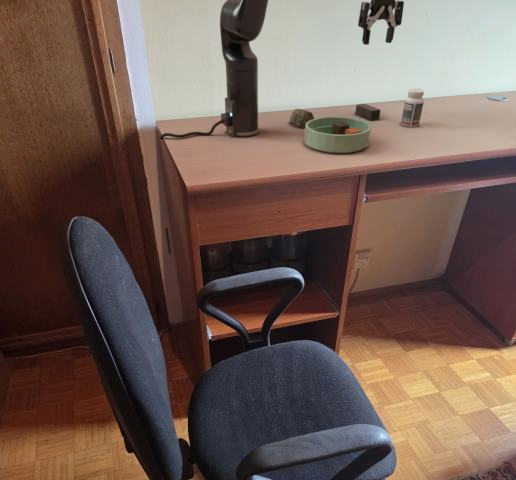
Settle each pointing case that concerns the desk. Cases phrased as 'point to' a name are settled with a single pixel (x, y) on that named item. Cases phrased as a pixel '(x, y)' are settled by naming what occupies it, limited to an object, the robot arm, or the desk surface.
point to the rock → (300, 117)
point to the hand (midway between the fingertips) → (377, 43)
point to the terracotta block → (352, 131)
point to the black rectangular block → (367, 112)
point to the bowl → (325, 141)
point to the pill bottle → (413, 108)
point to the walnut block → (339, 128)
